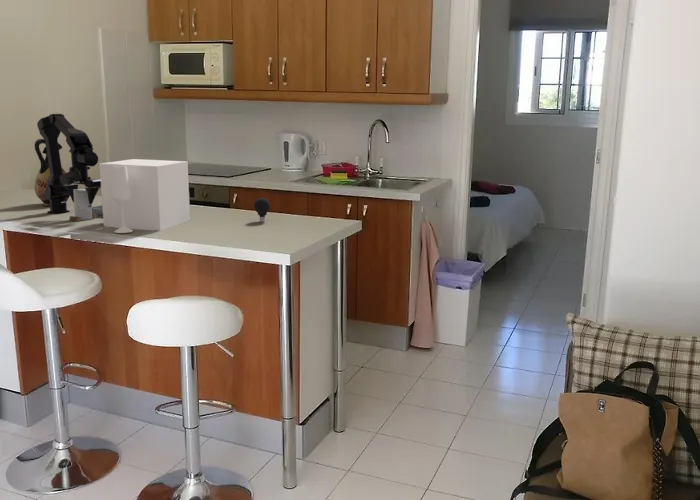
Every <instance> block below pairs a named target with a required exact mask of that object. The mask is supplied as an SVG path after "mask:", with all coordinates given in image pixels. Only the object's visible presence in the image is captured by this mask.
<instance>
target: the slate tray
mask: <svg viewBox="0 0 700 500" xmlns="http://www.w3.org/2000/svg"><path fill="white" fill-rule="evenodd" d="M92 214H97V217H102V218H103V206H102V204H101V205H95V206H92Z"/></svg>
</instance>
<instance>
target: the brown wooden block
mask: <svg viewBox="0 0 700 500" xmlns="http://www.w3.org/2000/svg"><path fill="white" fill-rule="evenodd" d="M92 219H98V216H97V214H92ZM69 221H70V222H71V221H73V222H81V221H82V220H81V217H75V215H71V216H69Z"/></svg>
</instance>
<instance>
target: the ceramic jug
mask: <svg viewBox="0 0 700 500" xmlns="http://www.w3.org/2000/svg"><path fill="white" fill-rule="evenodd" d="M42 144H44V145H46V143H45V140H44V138H39V139H38V138H37V139H36V140H35V142H34V150H35V153H36V154H37V157H38V160H39V163H40V168H39V170H38V172H37V174H36V176H35V179H34V192H35V196H36V197H37V198H38V199H39V200H40V201H41V202H42V204H43V206H46V207H47V206H49V207H50V202H49V199H46V198H45V195H44V193H45V190H46V188H47V181H48V179H49V176H50V169H49V163H48V156H47V150H46V146H45V147H44V148H43V150H42V151H41V149H40V146H41V145H42ZM58 146H59V151H60V150H62V149H63V146H62V145H61V144H60V143H59V142H58ZM42 154H45V157H44V156H43V155H42ZM62 173H63V174H65V173H67V172H66V171H65V169H64V168H63V167H62ZM51 196H52V195H51ZM55 196H58V195H55ZM69 198H71V196H69ZM69 198H65V200H66V203H67V202H68V199H69ZM37 208H38V207H37Z"/></svg>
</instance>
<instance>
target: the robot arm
mask: <svg viewBox="0 0 700 500" xmlns="http://www.w3.org/2000/svg"><path fill="white" fill-rule="evenodd" d="M36 124H37V125H36V126H37V129H38V131H39V135H40V136H41V137H42V139H44V140H45V143H46V144H45V147H46V150H47V156H48V163H49V169H50V176H49V179H48V181H47V188H46V190H45V193H44V195H45V198H46V199H49V202H50V206H49V210H48V211H47V213H49V214H55V215H56V214H63V213H69V212H70V210H67V208H68V207H67V202H66V200H65V198H68V199H71V201H72V203H74V192H73V190H74V189H78V188H79V185H84V189H86V191H87V193H88V200H89V204H93V203H94V200H95V198H96V196H97V193H98V191H99V190H100V189H101V178H91V176H89V170H90V169H91V167H95V166H96V165H97V164H98V162H99V156H98V155H97V153H96V152H94V147H93V146H94V145H93V143H92V141H91V140H90V137H89V136H88V134H87V133H86V132H85V131H83V130H81V129H77V128H76V127H74V126H73V125H72V123H70V122H69V120H67V118H65V115H64V114H62V113H51V114H49V115H47V116H43V117H42V118H40V119H39V120H38V121H37V123H36ZM61 133H62V134H63V136H64V137H65V142H66V144H67V146H68V147H69V148H70V149H69V150H68V151H69V153H70V158H71V159H70V160H71V166H70V167H69V171H68V172H66V173H65V174H63V173H62V168H63V166H62V161H61V153H60V150H59V146H58V143H59V140H58V139H59V137H60V135H61ZM51 195H52V196H51ZM55 195H58V196H55ZM69 196H70V197H69Z"/></svg>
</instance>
